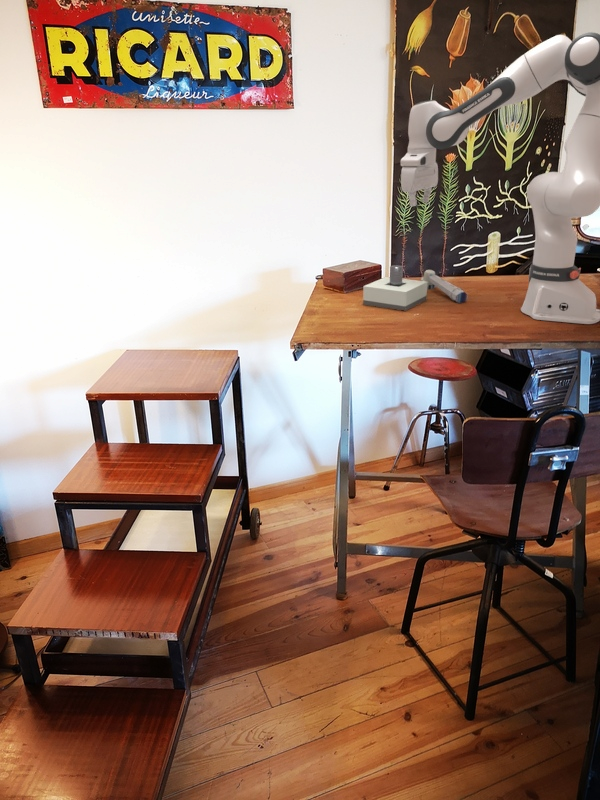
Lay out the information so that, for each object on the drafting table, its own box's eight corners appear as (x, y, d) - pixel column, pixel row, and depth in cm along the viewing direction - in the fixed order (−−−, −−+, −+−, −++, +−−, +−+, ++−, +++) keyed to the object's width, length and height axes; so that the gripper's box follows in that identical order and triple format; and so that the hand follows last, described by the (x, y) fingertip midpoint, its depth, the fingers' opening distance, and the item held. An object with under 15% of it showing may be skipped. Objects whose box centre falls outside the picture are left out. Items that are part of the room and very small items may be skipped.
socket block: (426, 299, 196) (427, 281, 193) (405, 311, 185) (405, 292, 182) (385, 294, 204) (386, 276, 202) (363, 304, 193) (363, 286, 191)
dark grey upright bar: (403, 297, 194) (405, 266, 190) (398, 299, 191) (399, 268, 187) (392, 295, 196) (393, 264, 192) (386, 298, 194) (387, 267, 189)
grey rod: (455, 292, 189) (419, 266, 209) (452, 312, 192) (417, 284, 213) (470, 290, 190) (432, 265, 210) (467, 310, 194) (430, 283, 214)
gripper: (426, 156, 198) (424, 200, 204) (397, 160, 183) (396, 207, 189) (444, 156, 195) (441, 200, 201) (416, 160, 180) (414, 208, 186)
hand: (419, 204), depth 195 cm, fingers open, 8 cm apart
